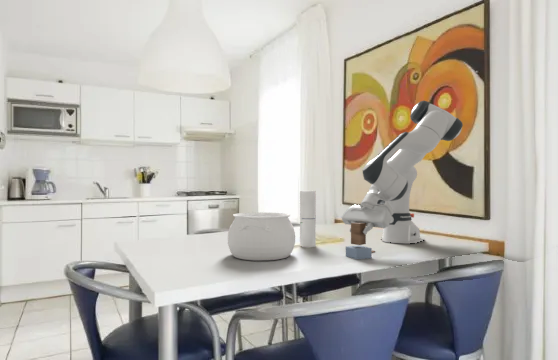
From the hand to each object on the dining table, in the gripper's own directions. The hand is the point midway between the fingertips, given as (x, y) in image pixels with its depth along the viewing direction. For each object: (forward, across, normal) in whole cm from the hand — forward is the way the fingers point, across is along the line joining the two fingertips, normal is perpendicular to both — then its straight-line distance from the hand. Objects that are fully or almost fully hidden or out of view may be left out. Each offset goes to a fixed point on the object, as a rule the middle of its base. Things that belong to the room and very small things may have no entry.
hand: (357, 232), depth 144 cm
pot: (+25, -27, -11) cm, 38 cm away
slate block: (+6, 0, +7) cm, 10 cm away
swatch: (-2, -5, +15) cm, 16 cm away
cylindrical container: (+3, -31, +10) cm, 33 cm away
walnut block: (+3, 0, +4) cm, 4 cm away
